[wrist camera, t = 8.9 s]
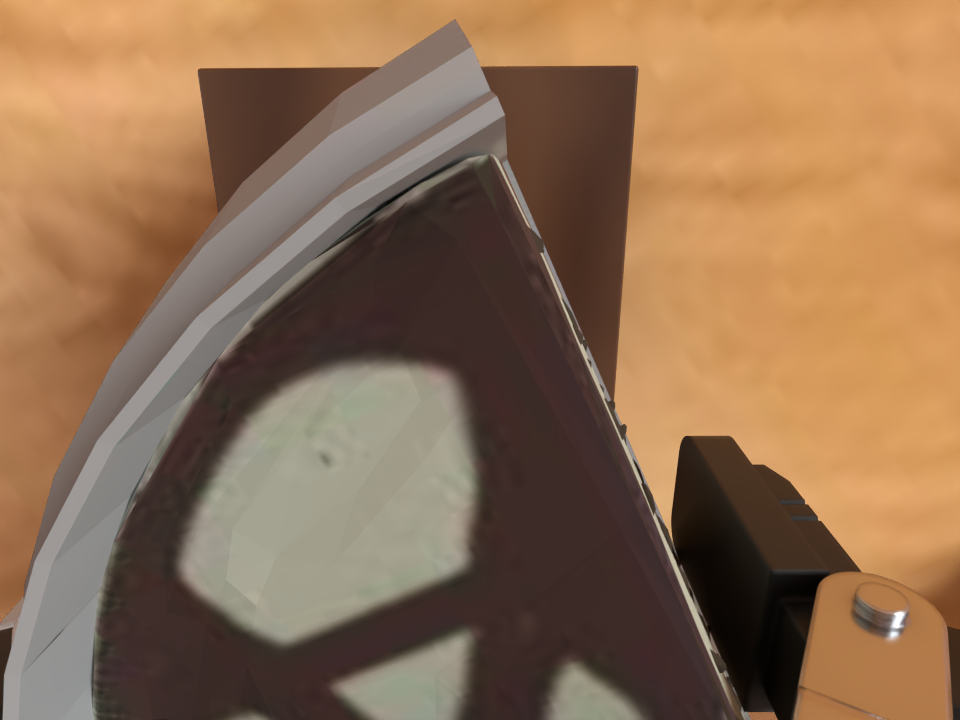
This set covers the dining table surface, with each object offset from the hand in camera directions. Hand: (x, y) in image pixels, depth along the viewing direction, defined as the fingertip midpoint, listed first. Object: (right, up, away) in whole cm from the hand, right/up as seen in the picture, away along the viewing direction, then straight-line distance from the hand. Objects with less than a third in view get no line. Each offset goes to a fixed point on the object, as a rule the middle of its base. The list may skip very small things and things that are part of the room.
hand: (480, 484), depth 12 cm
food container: (0, +1, +3) cm, 3 cm away
